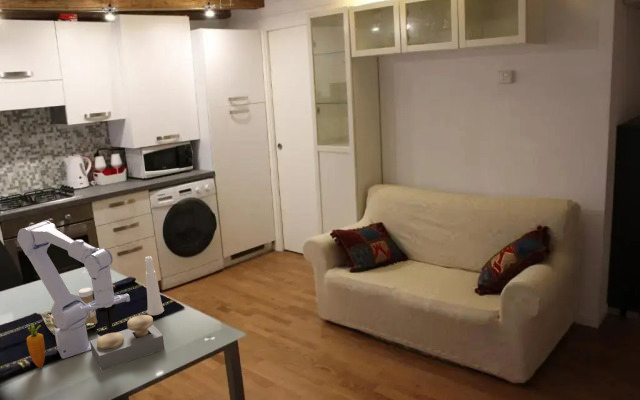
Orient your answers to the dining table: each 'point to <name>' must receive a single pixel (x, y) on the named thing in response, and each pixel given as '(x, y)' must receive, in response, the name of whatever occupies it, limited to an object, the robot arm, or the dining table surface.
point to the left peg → (110, 341)
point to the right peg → (140, 325)
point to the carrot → (36, 346)
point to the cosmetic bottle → (152, 289)
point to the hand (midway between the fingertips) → (109, 327)
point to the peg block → (128, 348)
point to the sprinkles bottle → (87, 298)
